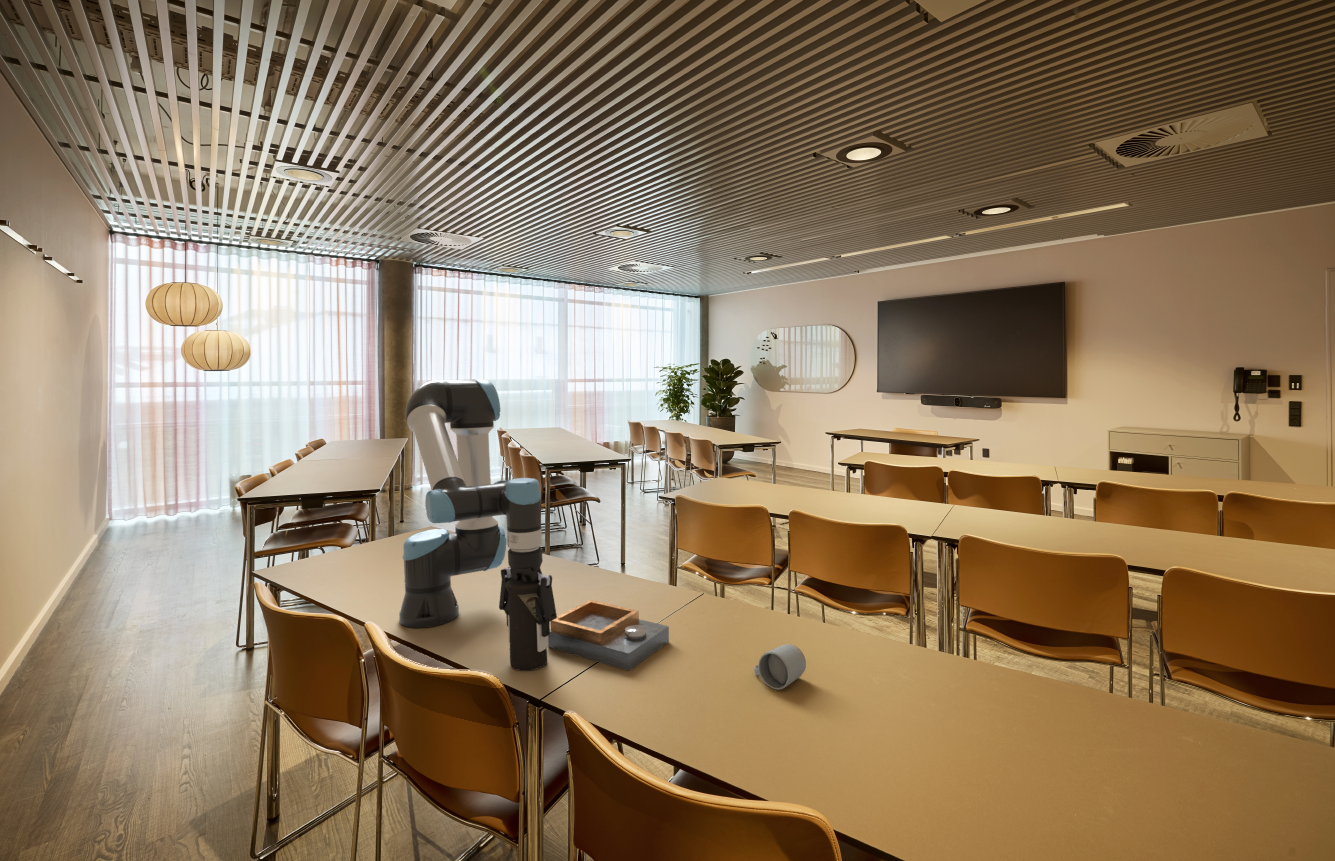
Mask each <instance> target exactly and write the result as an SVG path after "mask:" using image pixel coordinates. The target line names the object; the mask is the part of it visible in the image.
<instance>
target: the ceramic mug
mask: <svg viewBox="0 0 1335 861" xmlns="http://www.w3.org/2000/svg"><path fill="white" fill-rule="evenodd" d="M806 668H807V660H806V657H805V655H804V653H803V652H802V650H801V649H800V648H799V647H797V646H796V645H793V644H789V643H788V644H782V645H779V646H777V647H775V648H773V649H771V650H768V651H766V652H764V653H763V654H762V655H761V656H760V659H759V660H758V664H757V665H755V666H754V667H753V671H754V674H755V675H756V676H760V678H761V680H762V681H763V682H764V683H765V685H766V686H768V687H769V688H771V689H773V690H776V691H777V690H778V691H779V690H783V689H785V688H786V687H788V686H789V685H791V684H792V683H794V682H795V681H796V680H798V679H799V678H800V677H801V676H803V674H804V673H805V671H806Z"/></svg>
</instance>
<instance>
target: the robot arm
mask: <svg viewBox="0 0 1335 861" xmlns="http://www.w3.org/2000/svg"><path fill="white" fill-rule="evenodd" d="M405 406H406V407H405V420H406V423H407V426H408V428H409V430H410V431H411V432H412V433H413V434H414V436H415V439H416V443H417V446H418V448H419V449H418V450H419V452H420V456H421V459H422V462H423V466H424V469H425V473H426V476H427V479H428V483H429V486H430V488H431V490H428V492H426V494H425V499H424V500H425V501H424V502H425V503H424V504H425V510H426V517H427V520H428V521H429V522H430V523H431V524H445V523H454V522H457V523H456V524H455V526H454V527H455V529H454V530H455V531H454V532H453V533H450V532H449V531H448V530H447V529H446V528H437V529H436V528H433V529H428V530H423V531H420V532H417V533H415V534H412V535H411V536H409V537H407V538H406V540H405V541H404V542H403V545H402V546H403V548H402V551H403V553H402V560H403V571H404V573H403V574H404V590H405V591H404V596H403V601H402V604H401V607H400V611H399V623H400V625H402V626H404V627H406V628H413V629H414V628H415V629H419V628H421V629H423V628H430V627H431V628H432V627H435V626H436V627H437V626H440V625H444V624H446V623H449V622H451V621H453V620H454V619H456V618H457V617H458V616H459V613H460V610H459V609H460V607H459V603H458V601H457V598H456V596H455V594H454V591H453V589H452V583H451V580H452V577H455V576H460V575H467V574H472V573H477V572H486V571H488V570H492V569H496V568H499V567H500V566H501V565H502V564H503V561H504V559H505V556H506V553H507V558H508V559H507V560H508V562H507V563H508V567H505V568H502V569H501V570H500V577H501V584H500V594H499V604H498V609H499V610H500V611H504V614H505V615H506V626H507V628H508V631H507V632H508V643H509V644H510V628H509V592H508V591H507V590H506V588H505V585H506V583H507V582H508V581H509V580H510V579H512V578H513V580H515V581H518V580H519V579H520V580H523V583H528V584H529V583H536V582H539V581H540V583H539V585H540V591H541V597H540V598H536V597H535V610H536V613H537V616H538V619H539V621H540V622H538V623H537V648H538V652H541V651H543V650H545V649H546V648H547V649H548V648H549V647H548V635H549V634H550V629H551V624H550V621H552V620H554V619H556V618H557V614H558V613H557V609H556V608H557V607H556V603H555V596H554V591H553V585H552V584H553V575H551V574H549V575H545V574H543V572H542V570H541V566H542V563H543V548H542V547H541V546H542V545H543V539H542V538H543V537H542V536H543V535H542V507H541V506H542V504H541V502H542V501H541V500H542V493H541V487H540V486H541V485H540V481H539V480H537V479H536V478H530V477H519V478H518V477H517V478H512V479H509V480H507V479H505V480H504V479H501V480H497V481H496V482H494V483H492V482H491V463H490V462H491V460H490V459H491V458H490V439H489V436H490V435H489V433H490V432H491V431H492V430H493V429H494V426H495V425H494V424H495V423H494V422H496V421H498V420H499V419H500V417H501V414H500V413H501V403H500V398H499V394H498V390H497V389H496V387H495V386H494V384H493V383H492V382H491V381H489V380H488V379H487V380H486V379H476V378H475V379H450V380H449V379H446V380H445V379H443V380H442V379H437V380H436V379H435V380H431V381H428V382H425V383H424V384H422V385H420V386H419V387H418V388H416V390H414V392H413V393H412V394H411V395H410V397H409V398H408V401H407V403H406V405H405ZM446 423H447V424H449V425H450V426H449V427H450V430H451V431H452V432H453V433H455V435H456V448H457V449H456V450H457V451H456V452H457V453H456V452H455V450H454V447H453V444H452V441H451V439H450V435H449V433H448V429H447V427H446ZM456 454H457V455H456ZM495 516H496V517H498V516H506V530H507V532H506V531H505V529H504V528H503V526H499V521H498V520H496V519H495V518H494V517H495ZM506 534H507V538H506ZM507 547H508V548H509V549H508V550H507ZM506 550H507V551H506ZM544 615H545V616H544Z"/></svg>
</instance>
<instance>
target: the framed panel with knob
mask: <svg viewBox="0 0 1335 861" xmlns="http://www.w3.org/2000/svg"><path fill="white" fill-rule="evenodd" d="M639 613H640V612H639V610H637V609H632V608H627V607H623V606H618V605H614V604H610V603H607V602H606V603H605V602H601V601H597V600H593V599H589V600H587V601H586V602H583V603H581V604H579V605H577V606H576V607H573V608H571V609H569V610H567V611H565V612H563V613H561V614H560V615H558V616H557V618H556V619H554V620H552V621H550V634H549V635H548V648H551V649H554V650H557V651H561V652H564V653H567V654H571V655H574V656H576V657H577V656H578V657H581V658H584V659H588V660H591V661H594V662H598V663H601V664H605V665H608V666H611V667H614V668H617V669H621V670H624V671H627V672H629V671H631V670H632V669H634V668H635V667H636V666H638V665H639V664H641V663H642V662H643V661H645V660H646V659H648V658H649V657H650V656H652V655H653V654H654V653H655V652H657V651H658V650H660V649H661V648H662V647H664V646H665V645H667V644H668V643H669V642H670V626H669V625H665V624H661V623H657V622H653V621H649V620H648V621H647V620H645V619H640V618H639V616H640V614H639Z"/></svg>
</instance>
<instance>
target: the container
mask: <svg viewBox="0 0 1335 861" xmlns="http://www.w3.org/2000/svg"><path fill="white" fill-rule="evenodd" d="M539 583H540V581H539V582H536V583H529V584H528V583H523V580H520V579H519V580H518V581H515V580H513V578H512V579H510V580H509V581H508V582H507V583H506V585H505V588H506V590H507V591H508V592H509V628H510V643H509V663H510V666H511V668H512V669H514V670H517V671H522V672H524V671H525V672H526V671H527V672H529V671H535V670H539V669H540V668H543V667H545V665H547V663H548V650H547V649H548V648H546V649H545V650H543V651H541V652H538V648H537V623H538V622H540V621H539V619H538V616H537V613H536V610H535V597H536V598H540V597H541V591H540V585H539ZM544 616H545V615H544Z"/></svg>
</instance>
